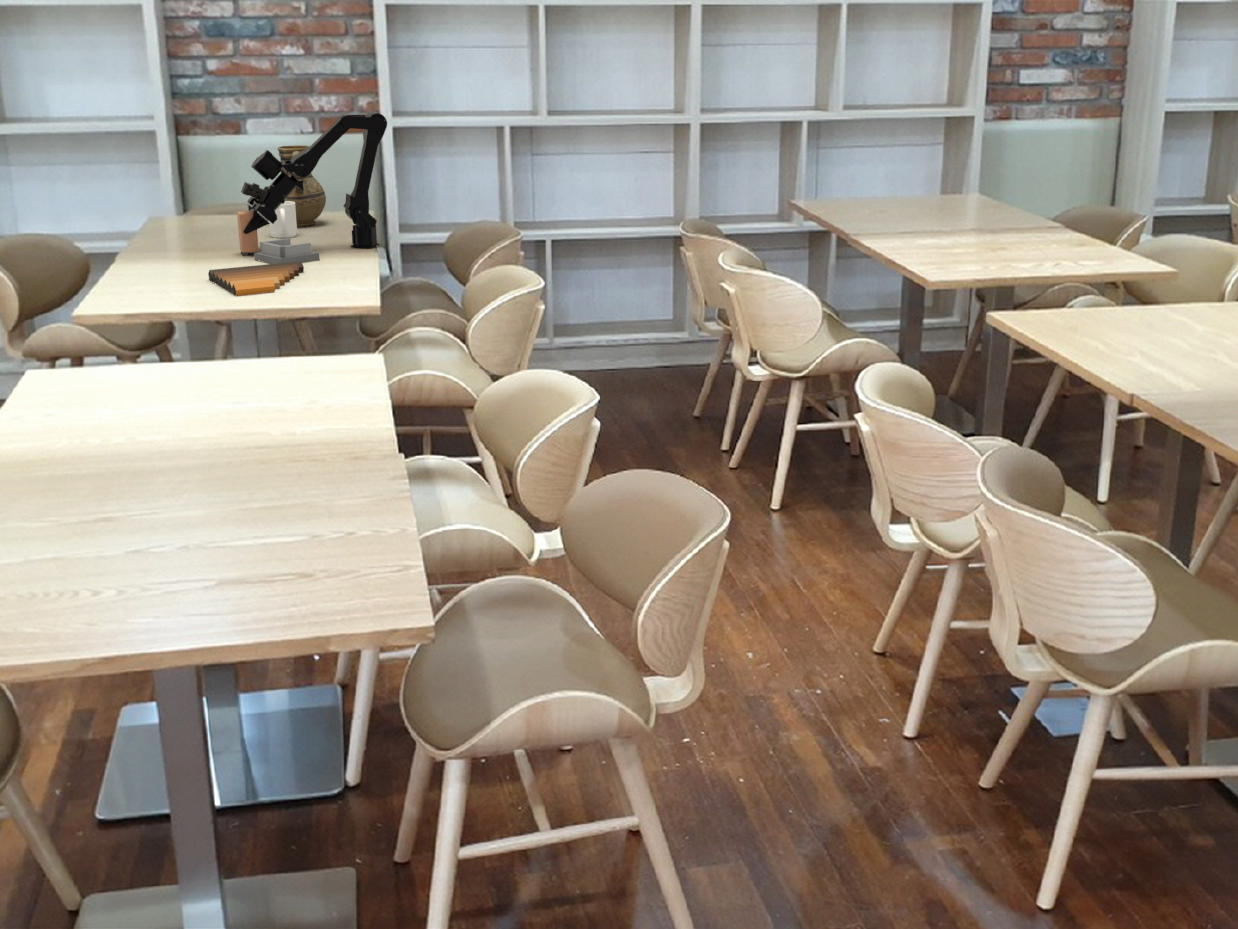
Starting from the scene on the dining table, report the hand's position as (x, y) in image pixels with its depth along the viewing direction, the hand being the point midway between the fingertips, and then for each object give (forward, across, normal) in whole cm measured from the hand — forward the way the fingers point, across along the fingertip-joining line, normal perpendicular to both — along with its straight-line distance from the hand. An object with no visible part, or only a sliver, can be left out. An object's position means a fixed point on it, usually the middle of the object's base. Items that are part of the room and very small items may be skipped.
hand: (242, 231), depth 410 cm
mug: (-6, -26, +16) cm, 31 cm away
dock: (-2, +14, +12) cm, 18 cm away
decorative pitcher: (-12, -48, +22) cm, 54 cm away
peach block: (+4, 0, +6) cm, 7 cm away
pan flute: (+5, +45, +5) cm, 45 cm away
